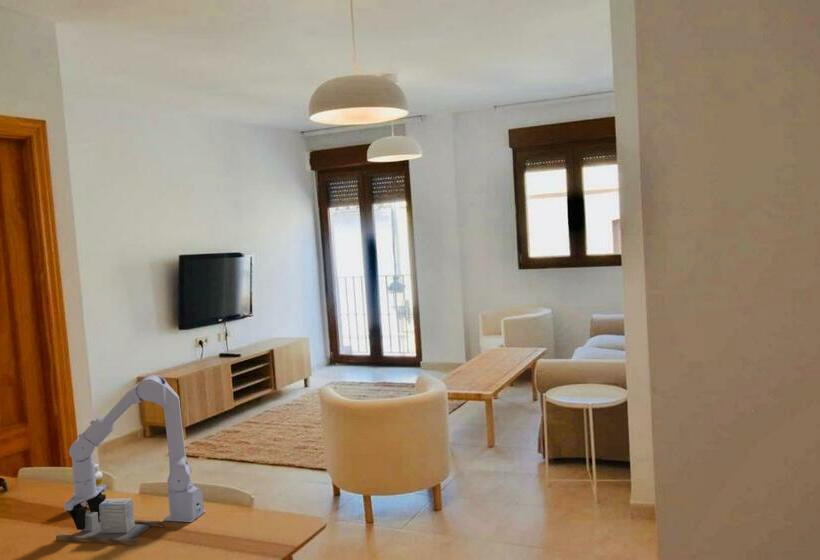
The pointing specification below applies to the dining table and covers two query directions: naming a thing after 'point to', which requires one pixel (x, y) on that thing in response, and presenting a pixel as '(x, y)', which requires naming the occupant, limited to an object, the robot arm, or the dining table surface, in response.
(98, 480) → the supplement bottle
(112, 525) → the medicine box
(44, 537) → the dining table surface
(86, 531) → the grey tray plate
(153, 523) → the walnut guide rails
